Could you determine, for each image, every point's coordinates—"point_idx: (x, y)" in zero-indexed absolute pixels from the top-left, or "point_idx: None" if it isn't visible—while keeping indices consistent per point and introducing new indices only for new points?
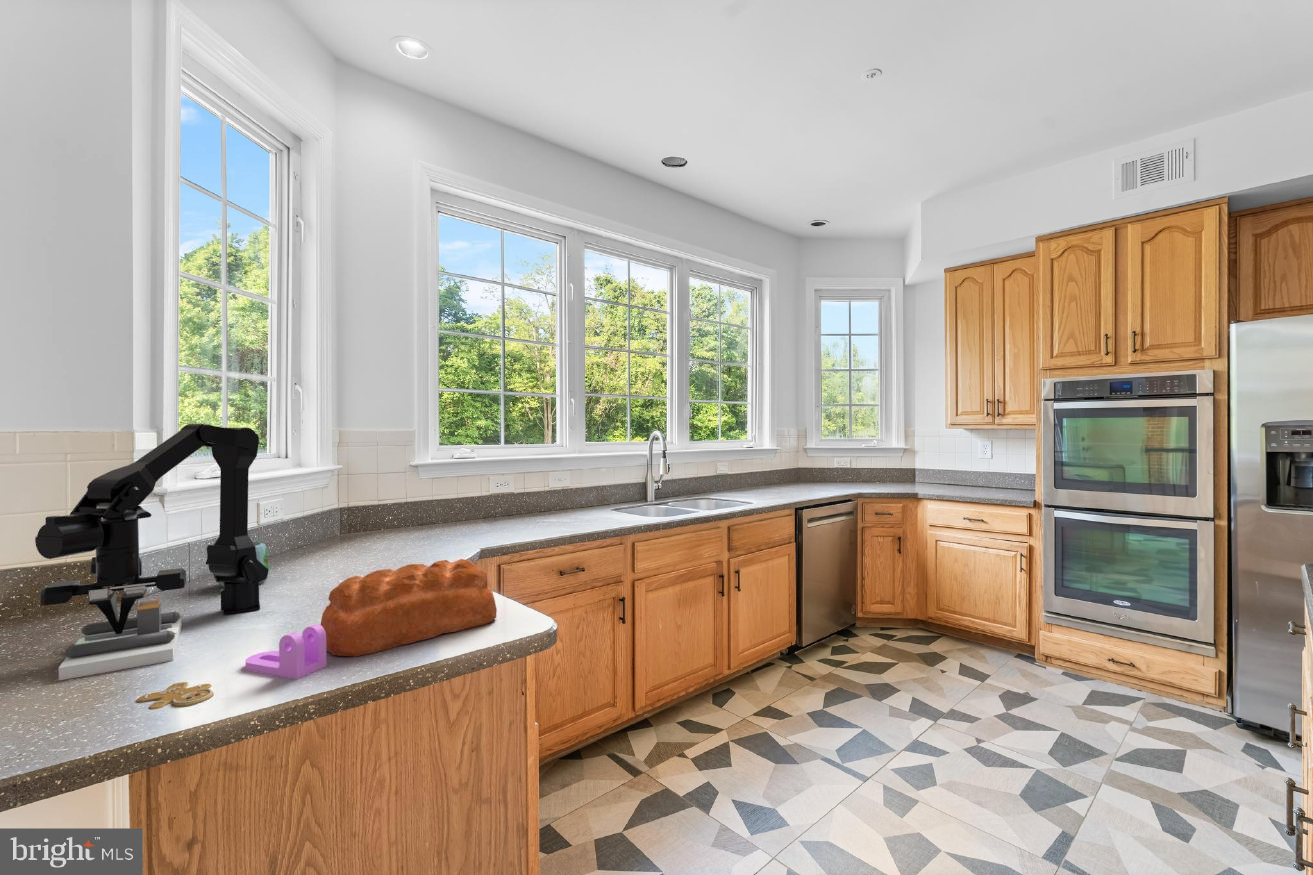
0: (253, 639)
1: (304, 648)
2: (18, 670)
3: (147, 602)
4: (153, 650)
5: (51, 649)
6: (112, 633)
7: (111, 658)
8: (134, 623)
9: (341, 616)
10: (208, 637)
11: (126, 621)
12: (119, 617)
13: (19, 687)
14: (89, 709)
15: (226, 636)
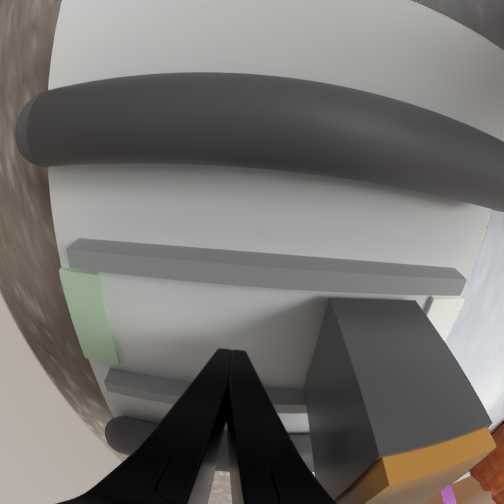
0: (497, 379)
1: (441, 492)
2: (10, 297)
3: (405, 496)
4: None
5: (8, 99)
6: (189, 277)
7: None
8: (315, 174)
9: (490, 491)
10: (481, 317)
11: (265, 394)
12: (231, 482)
13: (81, 411)
14: (225, 500)
15: (498, 333)
